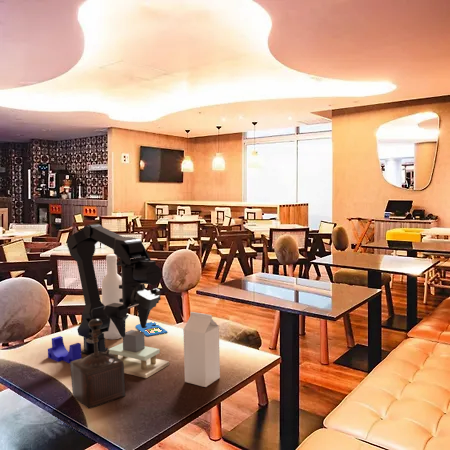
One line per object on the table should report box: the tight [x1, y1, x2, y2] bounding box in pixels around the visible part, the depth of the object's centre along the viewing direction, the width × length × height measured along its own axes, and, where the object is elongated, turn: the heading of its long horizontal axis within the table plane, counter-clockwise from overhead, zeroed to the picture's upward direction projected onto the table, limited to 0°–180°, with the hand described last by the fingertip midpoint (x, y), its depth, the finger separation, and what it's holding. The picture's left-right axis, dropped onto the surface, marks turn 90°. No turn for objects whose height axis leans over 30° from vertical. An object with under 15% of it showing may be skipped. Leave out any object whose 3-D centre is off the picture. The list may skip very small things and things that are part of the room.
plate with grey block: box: [108, 329, 161, 361], centre depth 137 cm, size 7×14×6 cm, turn 61°
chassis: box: [113, 354, 170, 379], centre depth 137 cm, size 18×11×4 cm, turn 61°
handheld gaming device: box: [135, 321, 168, 338], centre depth 173 cm, size 8×1×15 cm
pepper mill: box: [69, 319, 126, 409], centre depth 119 cm, size 16×11×18 cm
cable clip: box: [47, 335, 82, 364], centre depth 143 cm, size 12×4×6 cm, turn 50°
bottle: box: [101, 253, 127, 340], centre depth 164 cm, size 8×8×30 cm
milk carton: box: [182, 311, 221, 388], centre depth 125 cm, size 7×7×19 cm
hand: (133, 332), depth 136 cm, fingers open, 9 cm apart
